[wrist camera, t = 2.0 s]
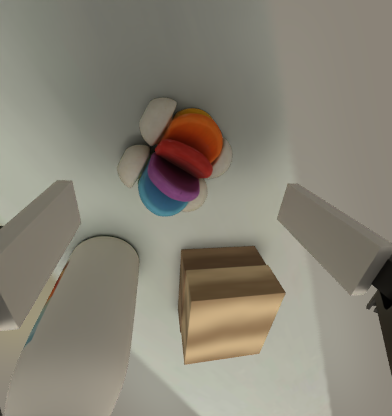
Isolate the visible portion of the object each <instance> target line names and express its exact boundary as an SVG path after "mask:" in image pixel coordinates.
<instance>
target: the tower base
mask: <svg viewBox="0 0 392 416" xmlns="http://www.w3.org/2000/svg"><path fill="white" fill-rule="evenodd" d="M261 265H266V264H265V262H264V260H263V259H262V257H261V255H260V254H259V252H258V251H257V249H256V247H255V246H243V247H223V248H203V249H182V250H181V264H180V282H179V300H178V314H179V325H180V333H181V329H182V316H183V304H184V292H185V280H186V270H199V269H214V268H230V267H245V266H261Z"/></svg>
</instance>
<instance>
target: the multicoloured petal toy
mask: <svg viewBox="0 0 392 416" xmlns="http://www.w3.org/2000/svg"><path fill="white" fill-rule="evenodd" d="M176 106H177V102H176V101H174V100H172V99H169V98H156V99H153V100H152V101H150V103H149V104H148V106H147V108H146V110H145V111H144V113H143V115H142V117H141V119H140V121H139V128H140V132H141V134H142V137H143V138H144V140H145V141H146V142H147V143H148V144H149V145H150V146H153V145H157V146H156V148H155V152H154V153H153V154H152V155H150V149H151V148H150V147H149V146H147V145H133V146H131V147H129V148H127V149H126V150H125V152H124V154H123V156H122V158H121V160H120V162H119V164H118V167H117V171H118V175H119V177H120V179H121V181H122V182H123V183H124V184H125V185H126V186H127V187H129V188H131V187H132V186H133V185H134V183H135V182H136V180H137V179H138V178H139V180H138V190H139V195H140V198H141V200H142V202H143V204H144V205H145V206H146V208H147V209H148V210H150V211H151V212H152V213H154V214H155V215H158V216H172V215H175V214H177V213H179V212H180V211H183V212H190V211H194V210H196V209H198V208H199V207H201V206H202V204H203V203H204V202H205V200H206V197H207V185H206V182H205V180H204V179H203V178H209V179H210V178H216V177H219V176H221V175H222V174H224V173H225V172H226V171H227V169H228V168H229V166H230V164H231V162H232V149H231V146H230V144H229V143H228V141H227V140H226V139H225V138H222V134H221V131H220V129H219V127H218V126H217V124H216V123H215V122H214V120H213V119H212V118H211V116H210V115H209V114H208V113H206V112H205V111H203V110H200V109H196V108H189V109H184V110H182V111H179V112H177V113H176V114H175V115H174V117H173V119H172V116H173V113H174V111H175V108H176Z"/></svg>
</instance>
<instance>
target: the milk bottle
mask: <svg viewBox="0 0 392 416" xmlns="http://www.w3.org/2000/svg"><path fill="white" fill-rule="evenodd" d="M138 273H139V258H138V255H137V253H136V251H135V250H134V249H133V247H132V246H131V245H129V244H128V243H127V242H125V241H123V240H121V239H118V238H115V237H110V236H100V237H94V238H90V239H88V240H86V241H84V242H82V243H81V244H79V245H78V246H77V247H76V248H75V249H74V250H73V252H72V254H71V255H70V257H69V259H68V261H67V263H66V265H65V267H64V269H63V271H62V272H61V274H60V276H59V278H58V280H57V282H56V284H55V286H54V288H53V290H52V292H51V294H50V296H49V298H48V300H47V302H46V304H45V306H44V308H43V309H42V311H41V314H40V316H39V318H38V319H37V321H36V323H35V325H34V327H33V329H32V331H31V333H30V335H29V338H28V340H27V342H26V344H25V346H24V348H23V350H22V352H21V355H20V357H19V359H18V361H17V364H16V367H15V369H14V372H13V375H12V377H11V381H10V384H9V388H8V393H7V398H6V405H5V414H4V416H110V415H111V413H112V411H113V409H114V406H115V404H116V402H117V400H118V397H119V394H120V392H121V389H122V386H123V383H124V379H125V376H126V372H127V367H128V362H129V355H130V348H131V340H132V332H133V323H134V313H135V304H136V294H137V284H138Z"/></svg>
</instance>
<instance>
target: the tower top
mask: <svg viewBox="0 0 392 416" xmlns="http://www.w3.org/2000/svg"><path fill="white" fill-rule="evenodd" d="M285 293H286V292H285V291H284V289H283V288H282V286H281V285H280V283H279V281H278V280H277V278H276V277H275V275H274V274H273V272H272V270H271V269H270V267H269V266H268V265H261V266H245V267H230V268H214V269H199V270H186V280H185V292H184V304H183V316H182V329H181V335H182V345H183V355H184V365H185V364H192V363H199V362H206V361H212V360H219V359H226V358H233V357H239V356H246V355H253V354H259V353H260V351H261V348H262V346H263V344H264V342H265V339H266V337H267V335H268V332H269V330H270V328H271V325H272V323H273V321H274V319H275V316H276V314H277V312H278V309H279V307H280V305H281V302H282V300H283V298H284V296H285Z"/></svg>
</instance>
